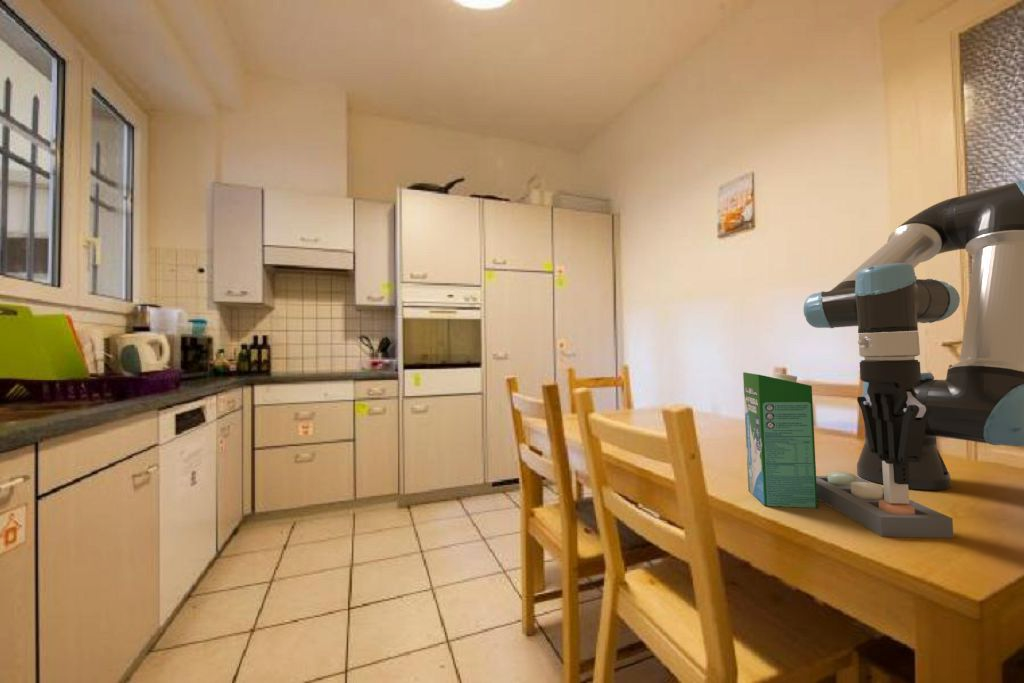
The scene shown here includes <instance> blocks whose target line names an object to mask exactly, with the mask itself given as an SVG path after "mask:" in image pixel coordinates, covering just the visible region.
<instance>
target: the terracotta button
mask: <svg viewBox="0 0 1024 683" xmlns="http://www.w3.org/2000/svg"><path fill="white" fill-rule="evenodd" d="M879 509H881V510H883V511H885V512H887V513H889V514H909V515H915V507H914V506H913V505H911V504H909V503H889V502H887V501H885V500H879Z"/></svg>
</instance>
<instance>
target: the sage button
mask: <svg viewBox="0 0 1024 683" xmlns="http://www.w3.org/2000/svg"><path fill="white" fill-rule="evenodd" d="M827 476H828V483H830V484H832V485H834V486H851V483H852V482H856V474H854V473H851V472H846V471H839V470H836V471H835V470H831V471H828V472H827Z"/></svg>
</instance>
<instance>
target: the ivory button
mask: <svg viewBox="0 0 1024 683" xmlns="http://www.w3.org/2000/svg"><path fill="white" fill-rule="evenodd" d="M872 483H873V482H870V483H867V482H852V483H851V494H852V495H854V496H856V497H858V498H860V499H883V493H882V488H883V487H882V485H879V484H876V483H873V484H872Z"/></svg>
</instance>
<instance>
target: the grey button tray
mask: <svg viewBox="0 0 1024 683" xmlns="http://www.w3.org/2000/svg"><path fill="white" fill-rule="evenodd" d="M855 476H856V475H855ZM856 482H867V483H872V484H874V482H870V481H869V480H867V479H864V478H862V477H860V476H859V477H858V476H856ZM816 483H817V500H820V501H821V502H823V503H825V505H828V506H829V507H831V508H833V509H835V510H836V511H838V512H840V513H841V514H843V515H845V516H846V517H848V518H850V519H851V520H853V521H855V522H857V523H859V524H860V525H861V526H863V527H865V528H867V529H869V530H870V531H872V532H873V533H875V534H877V535H878V536H880V537H882V538H883V537H887V538H888V537H889V538H890V537H891V538H892V537H893V538H894V537H895V538H897V537H898V538H935V539H936V538H937V539H938V538H941V539H942V538H943V539H945V538H946V539H954V525H953V523H954V521H953V517H950V516H948V515H946V514H944V513H941V512H939V511H937V510H934V509H932V508H930V507H927V506H925V505H923V504H920V503H919V502H916V501H913V500H911V499H909V504H911V505H913V506H914V507H915V515H909V514H889V513H887V512H885V511H883V510H881V509H879V500H884V488H883V487H882V493H883V499H860V498H858V497H856V496H854V495H852V494H851V486H834V485H832V484H830V483H828V475H816Z"/></svg>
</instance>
